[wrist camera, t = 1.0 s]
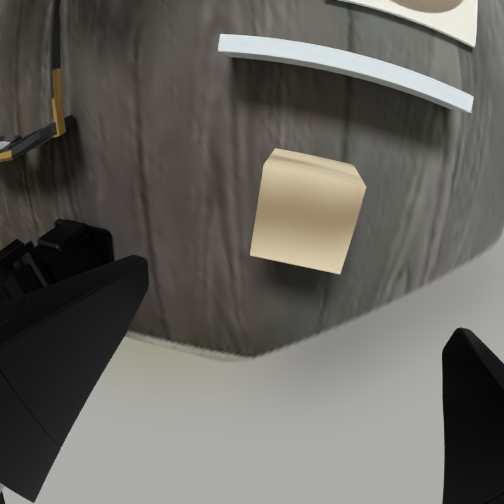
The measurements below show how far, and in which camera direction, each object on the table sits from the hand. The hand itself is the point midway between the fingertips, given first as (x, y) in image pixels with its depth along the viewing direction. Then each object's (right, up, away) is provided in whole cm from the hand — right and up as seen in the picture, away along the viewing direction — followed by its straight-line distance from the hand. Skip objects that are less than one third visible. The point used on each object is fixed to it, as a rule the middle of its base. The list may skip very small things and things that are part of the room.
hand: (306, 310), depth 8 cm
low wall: (+4, +12, +7) cm, 15 cm away
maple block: (+2, +5, +12) cm, 13 cm away
